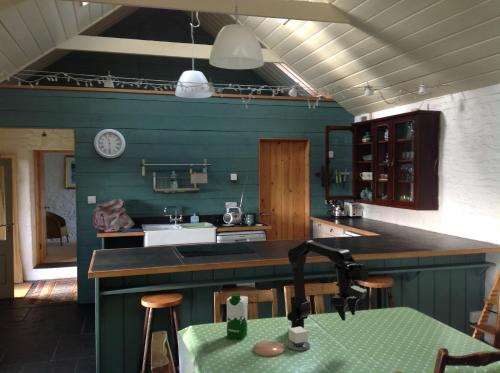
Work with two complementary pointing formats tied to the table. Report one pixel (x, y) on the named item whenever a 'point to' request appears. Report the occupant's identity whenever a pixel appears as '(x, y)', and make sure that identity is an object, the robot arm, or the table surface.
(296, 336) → the cream colored cube
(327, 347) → the table surface
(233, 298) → the milk carton
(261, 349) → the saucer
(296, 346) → the grey rounded piece
